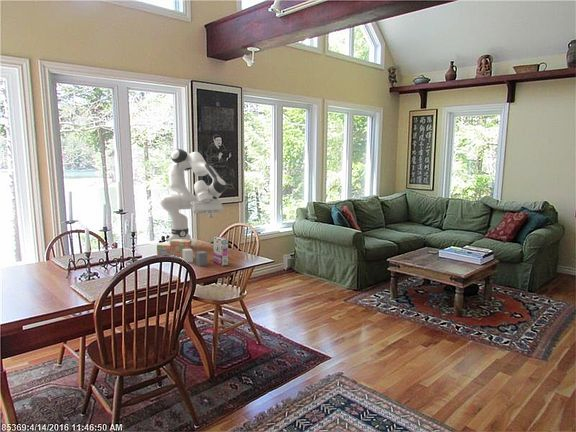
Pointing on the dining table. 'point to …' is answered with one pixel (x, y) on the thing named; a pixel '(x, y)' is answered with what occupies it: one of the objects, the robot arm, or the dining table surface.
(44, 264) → the dining table surface
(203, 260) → the charcoal block
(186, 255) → the pale grey block
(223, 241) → the candy bar box
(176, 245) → the stack of blocks
